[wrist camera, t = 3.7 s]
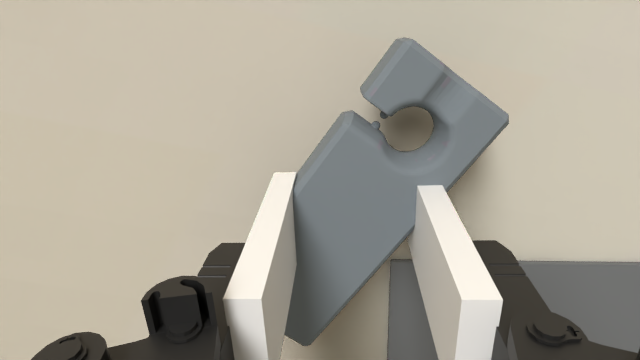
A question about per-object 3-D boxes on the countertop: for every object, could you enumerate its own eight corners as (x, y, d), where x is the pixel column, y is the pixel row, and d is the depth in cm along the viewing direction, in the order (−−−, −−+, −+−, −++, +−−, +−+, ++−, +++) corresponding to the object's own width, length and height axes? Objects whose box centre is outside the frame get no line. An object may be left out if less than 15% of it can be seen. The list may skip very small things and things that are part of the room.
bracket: (227, 266, 16) (213, 298, 14) (397, 32, 13) (408, 34, 11) (310, 316, 17) (308, 352, 15) (491, 105, 14) (517, 119, 12)
